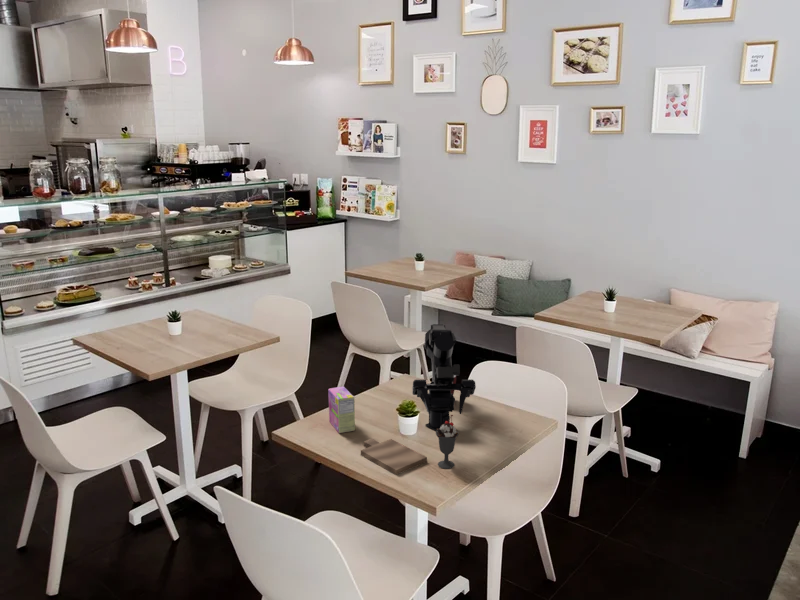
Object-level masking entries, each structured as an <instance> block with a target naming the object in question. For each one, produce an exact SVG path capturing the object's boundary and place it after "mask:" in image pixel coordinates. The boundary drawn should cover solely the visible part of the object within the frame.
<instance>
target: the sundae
mask: <svg viewBox="0 0 800 600" xmlns="http://www.w3.org/2000/svg"><path fill="white" fill-rule="evenodd" d="M453 417H454V415H453V414H451V415H450V419H449V420H450V421H451V422H450V423H449V422H448V421H449V420H448V421H446V422H445V423H444V424H443V425H442V426H441V427H440V428H439V429H437V431H435V435H436V437H437V438H438V445H439V446H438V447H439V450H440V452H441V453H442V454H444V459H443V460H440V461H439V462H438V463H437V465H438V467H439V468H441V469H444V470H451V469H453V468H454V467H455V466H456V464H455V463H454V462H453V461H451V460H449V455H451V454H452V453H453V451H454V449H455V446H456V445H455V444H456V439H457V437H458V436H459V431H457V429H456V427H455V426H454V422H453Z"/></svg>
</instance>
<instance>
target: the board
mask: <svg viewBox="0 0 800 600" xmlns="http://www.w3.org/2000/svg"><path fill="white" fill-rule="evenodd" d="M363 447H364V448H363V449H360V456H362V457H363V456H364V458H365V457H366V458H365V459H367V460H369V461H371V462H372V463H375V464H376V465H378V466H380V467H381V468H383V469H385V470H387V471H389V472H390V473H391V474H394V475H396V476H398V475H400V474H402V473H404V472H406V471H408V470H411V469H413V468H416V467H418V466H421V465H423V464H426V463H427V462H428V457H427V456H426V455H424V454H422V453H420V452H418V451H415V450H414V449H412V448H410V447H408V446H406V445H404V444H402V443H400V442H398V441H397V440H394V439H393V438H390V439H387V440H384V441H380V442H379V441H378V440H375V439H374V438H369V439H367V440H364V441H363Z"/></svg>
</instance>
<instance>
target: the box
mask: <svg viewBox="0 0 800 600" xmlns="http://www.w3.org/2000/svg"><path fill="white" fill-rule="evenodd" d="M327 391H328V415H329V416H328V417H329V419H328V420H329V423H330V424H331V426H333V428H334V429H335V431H336V432H337V433H338V434H342V433H348V432H354V431H356V421H355V419H356V416H355V414H356V413H355V412H356V410H355V405H356V404H355V400H356V399H355V396H354V395H353V394H352V393H351V392H350V391H349V390H348V389H347V388H346V387H345V386H338V387H331V388H328V390H327Z"/></svg>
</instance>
